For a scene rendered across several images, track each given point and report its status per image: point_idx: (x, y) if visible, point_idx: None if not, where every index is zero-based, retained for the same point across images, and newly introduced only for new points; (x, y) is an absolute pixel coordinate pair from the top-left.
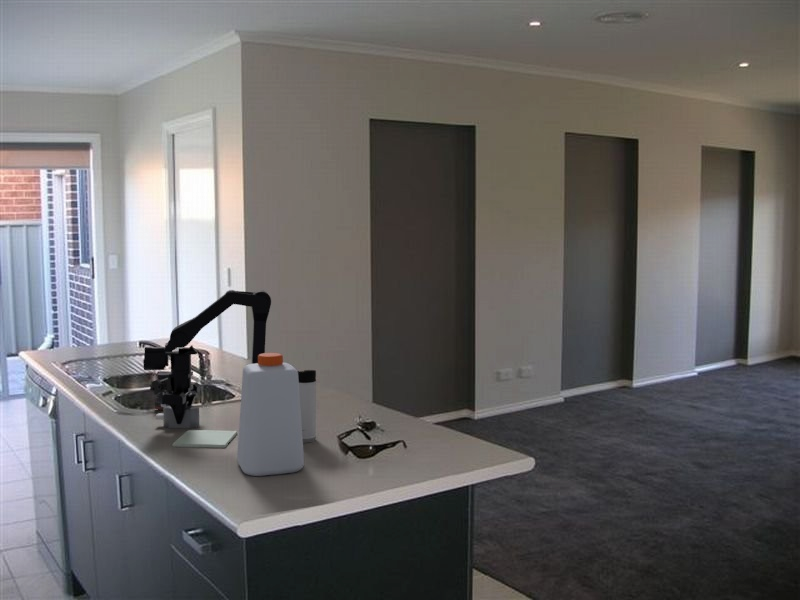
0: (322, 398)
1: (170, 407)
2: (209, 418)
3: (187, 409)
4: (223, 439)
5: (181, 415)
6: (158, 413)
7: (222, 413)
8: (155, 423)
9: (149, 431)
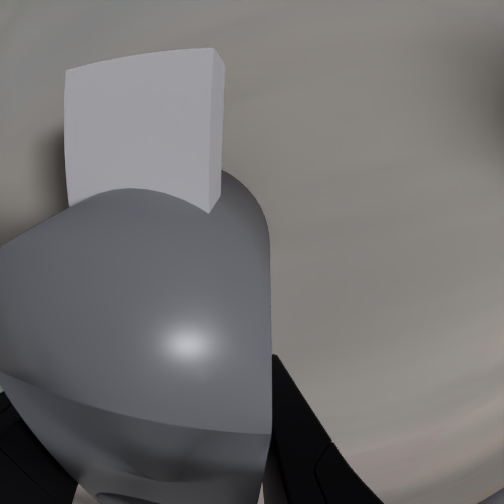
0: (481, 495)
1: (82, 396)
2: (405, 423)
3: (95, 498)
4: None
5: None
6: (198, 55)
7: (474, 426)
8: (286, 38)
9: (8, 115)
